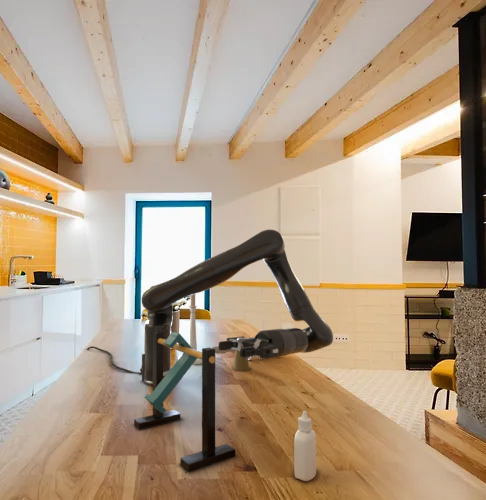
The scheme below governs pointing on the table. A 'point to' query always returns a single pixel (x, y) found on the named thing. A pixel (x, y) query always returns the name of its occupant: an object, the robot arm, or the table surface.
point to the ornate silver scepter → (228, 351)
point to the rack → (209, 450)
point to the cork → (240, 362)
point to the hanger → (171, 373)
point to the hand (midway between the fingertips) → (229, 349)
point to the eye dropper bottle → (305, 449)
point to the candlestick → (193, 329)
